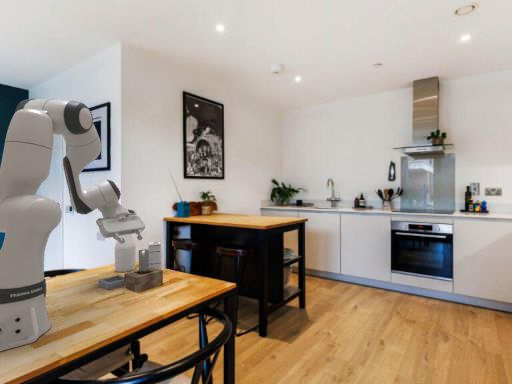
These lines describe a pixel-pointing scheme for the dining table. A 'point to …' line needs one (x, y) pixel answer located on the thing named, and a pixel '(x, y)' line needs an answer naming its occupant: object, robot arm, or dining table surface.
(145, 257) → the steel axle
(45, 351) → the dining table surface
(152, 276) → the walnut hollow rectangular frame
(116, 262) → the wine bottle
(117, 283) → the slate tray
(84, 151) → the robot arm
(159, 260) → the syrup box
